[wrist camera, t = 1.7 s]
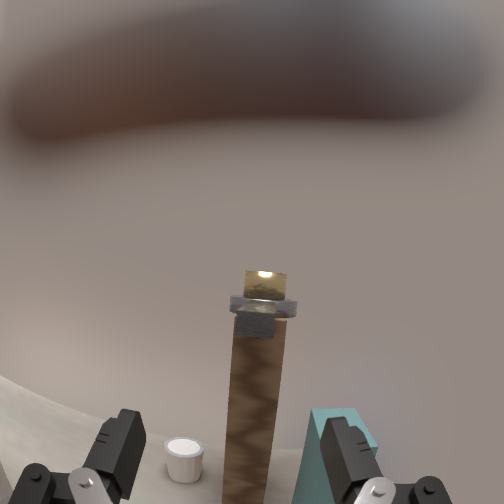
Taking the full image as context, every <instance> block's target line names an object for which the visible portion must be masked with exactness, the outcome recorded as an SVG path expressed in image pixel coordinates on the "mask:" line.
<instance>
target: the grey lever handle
mask: <svg viewBox="0 0 504 504" xmlns="http://www.w3.org/2000/svg"><path fill="white" fill-rule="evenodd" d="M286 279H287V274H281V273H270V272H257V271H245V282H244V294H243V295H232V296H231V297H230V298H231V299H230V312H233V313H236V314H237V319H236V331H235V335H237V336H247V337H257V338H269V339H274V329H275V318H292V317H295V316H296V310H297V301H296V300H290V299H285V291H286Z"/></svg>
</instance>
